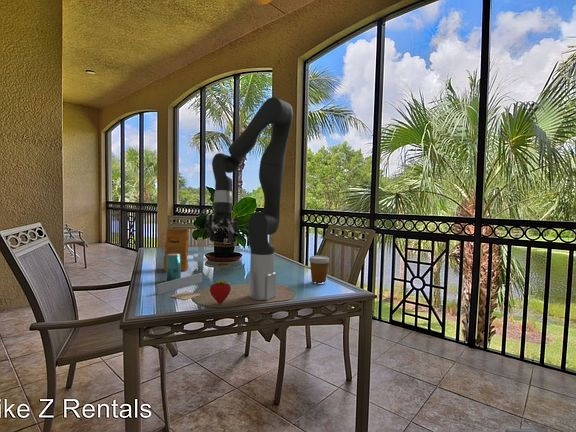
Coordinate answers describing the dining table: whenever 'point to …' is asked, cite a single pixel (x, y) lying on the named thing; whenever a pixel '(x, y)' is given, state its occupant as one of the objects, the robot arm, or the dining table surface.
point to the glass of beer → (319, 268)
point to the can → (173, 266)
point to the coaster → (185, 295)
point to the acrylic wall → (178, 283)
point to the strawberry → (220, 290)
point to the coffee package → (177, 246)
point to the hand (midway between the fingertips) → (221, 242)
